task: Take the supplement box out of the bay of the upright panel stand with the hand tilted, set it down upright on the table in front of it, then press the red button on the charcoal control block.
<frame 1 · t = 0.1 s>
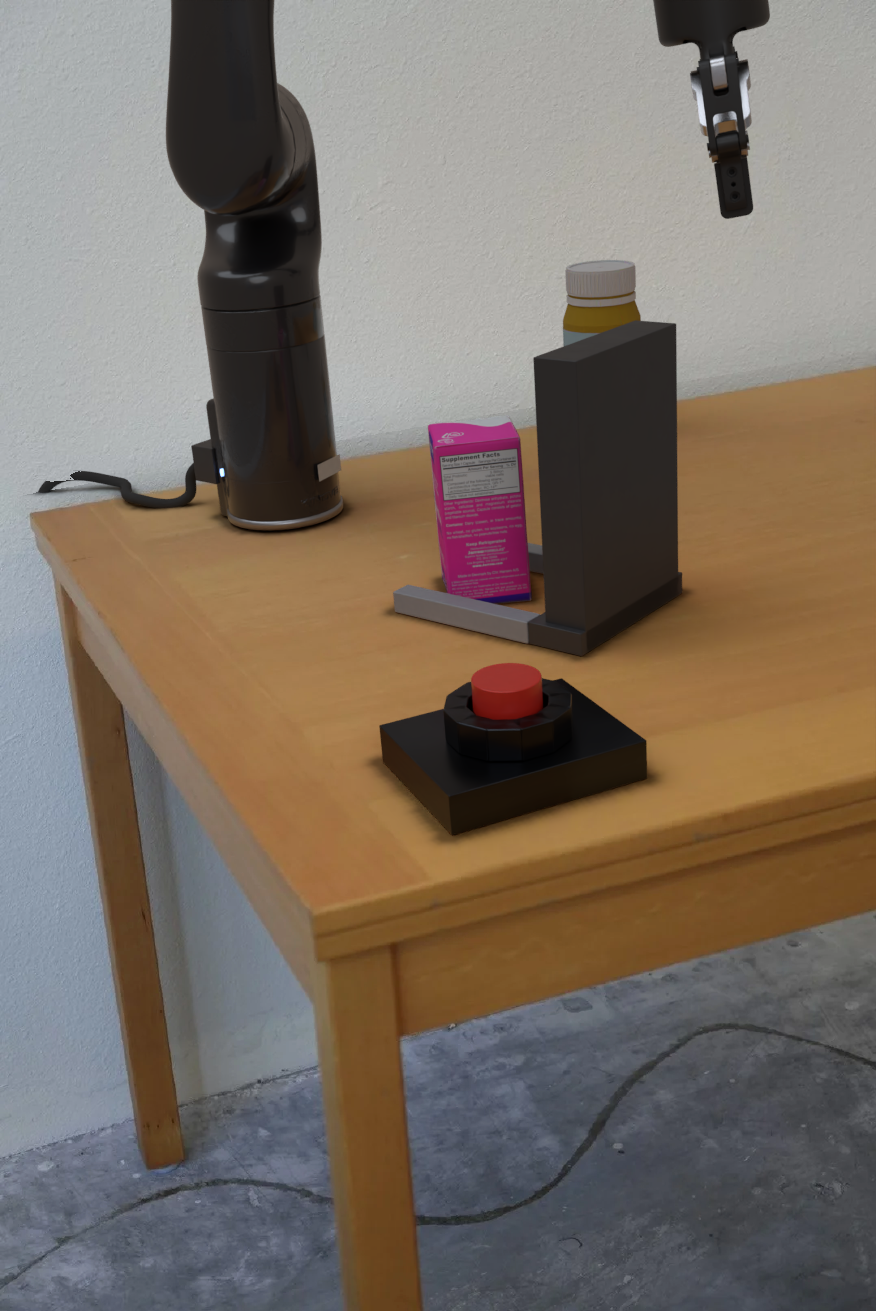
hand: (737, 207, 105), 22 cm above the table, tool pointing down, fingers open, 8 cm apart
upright panel stand: (544, 603, 98), on the table
supplement box: (485, 593, 101), on the table
red button: (507, 692, 75), point 4 cm above the table, slide at 0.1 cm
bottle: (604, 432, 137), on the table
control block: (511, 770, 77), on the table
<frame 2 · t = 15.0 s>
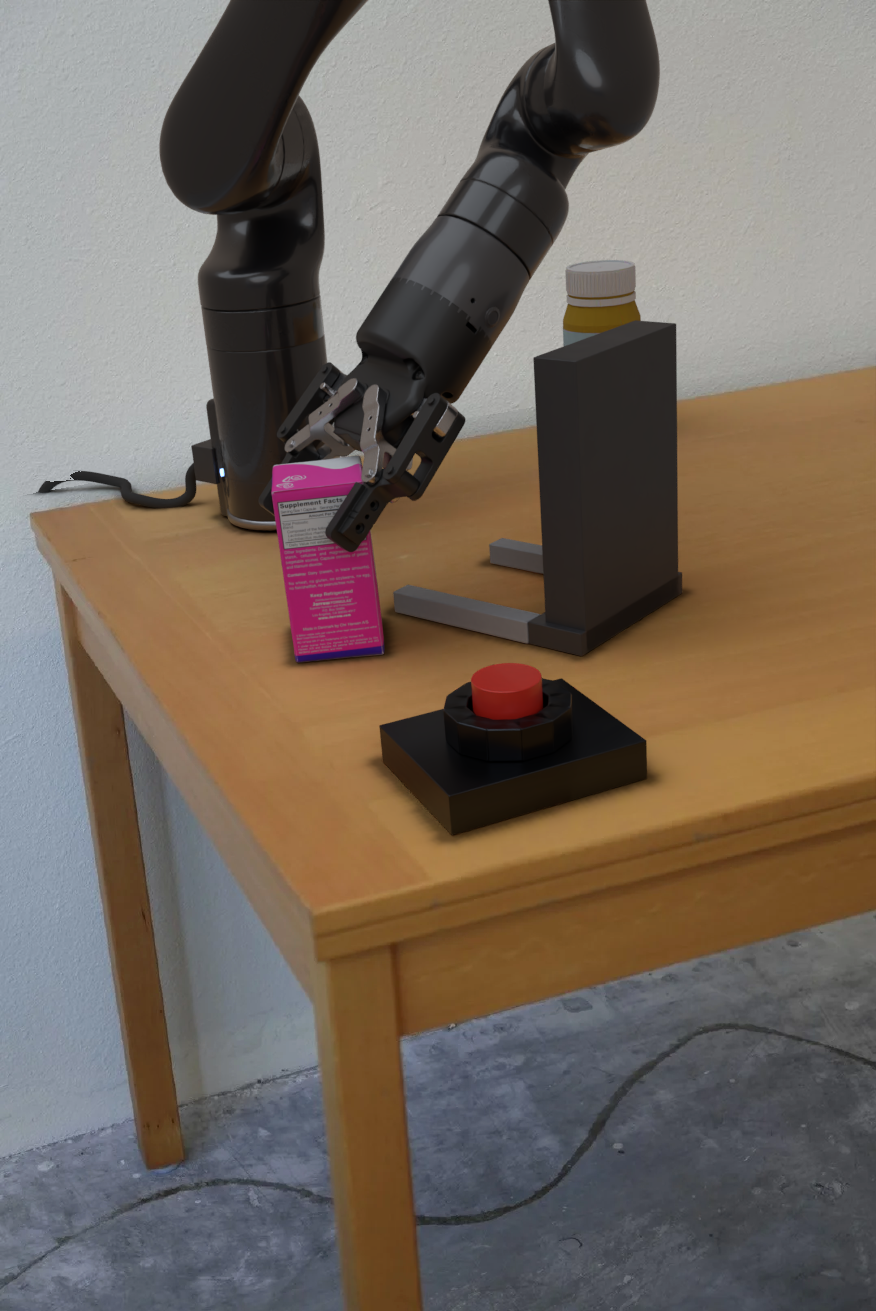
hand: (303, 528, 91), 8 cm above the table, tool tilted 45°, fingers open, 8 cm apart
supplement box: (338, 645, 95), on the table
everything else where it was.
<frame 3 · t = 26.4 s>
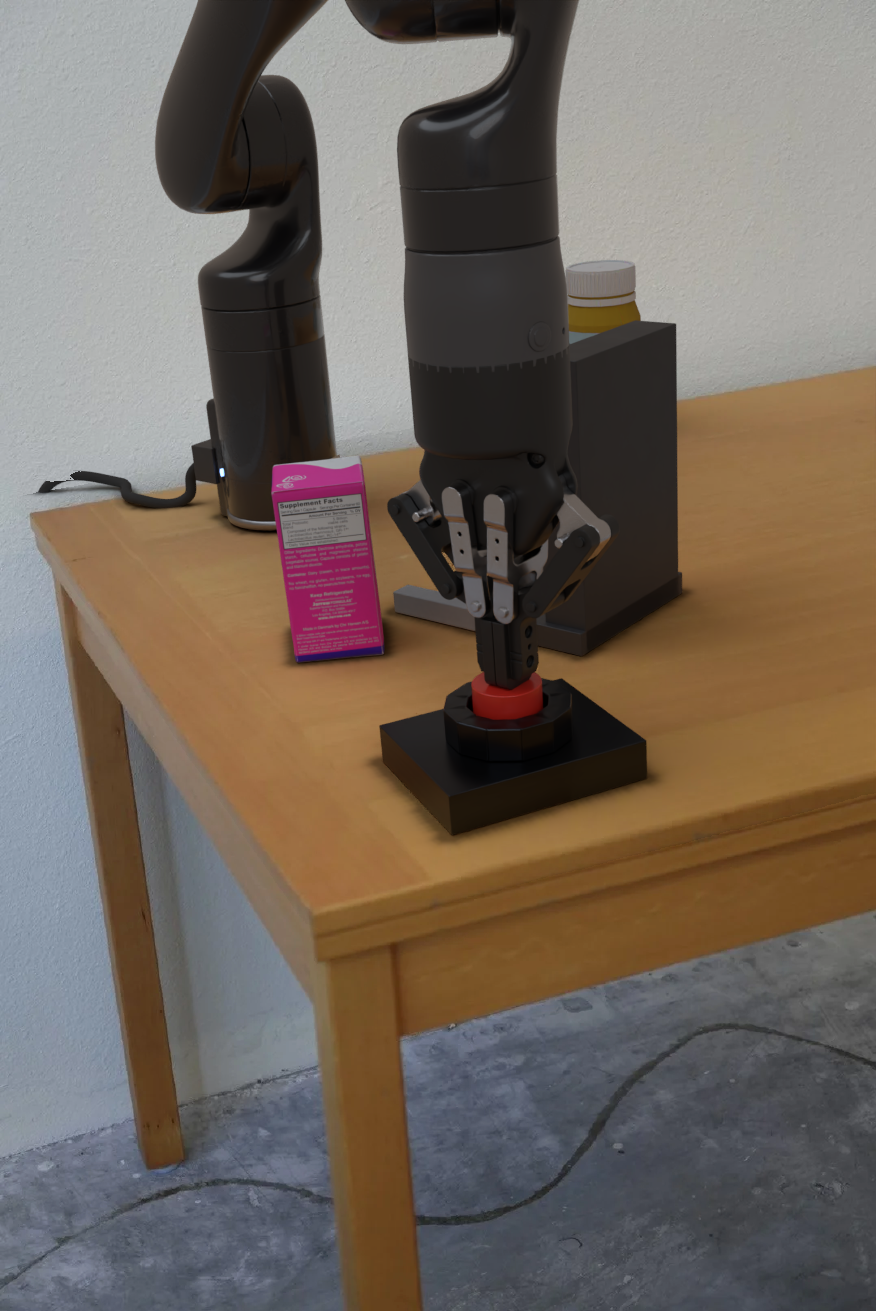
hand: (508, 681, 75), 5 cm above the table, tool pointing down, fingers closed
red button: (507, 697, 76), point 4 cm above the table, slide at -0.2 cm, touching gripper
everything else where it was.
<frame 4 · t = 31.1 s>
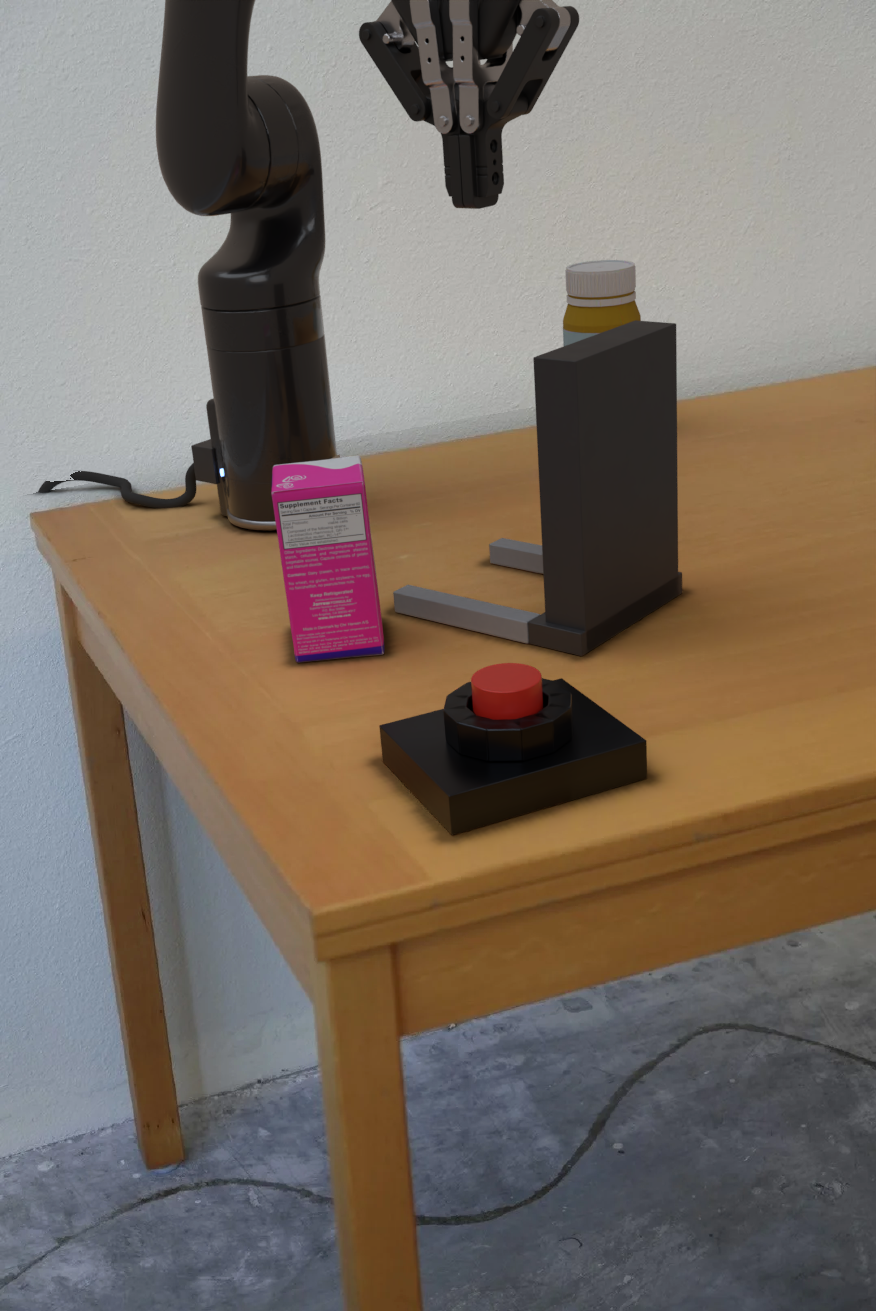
hand: (475, 206, 78), 27 cm above the table, tool pointing down, fingers closed
red button: (507, 692, 75), point 4 cm above the table, slide at 0.1 cm
everything else where it was.
at the end: supplement box inside the target area (0.6 cm from its centre), on the table; supplement box tilted 0°; red button pushed in 1.1 cm at the most during the clip, back to where it started at the end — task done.
